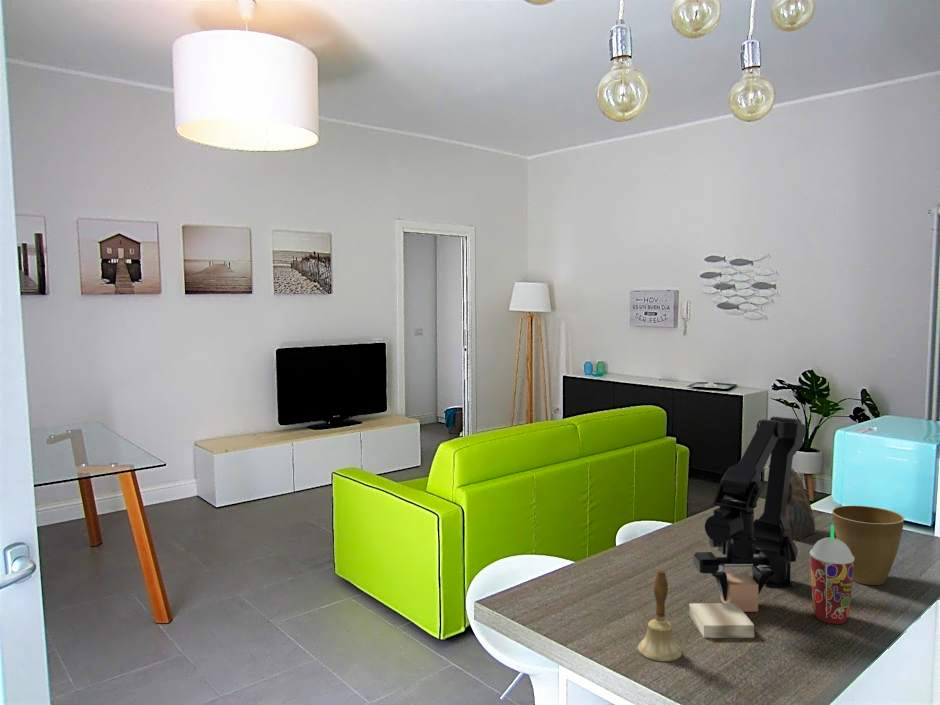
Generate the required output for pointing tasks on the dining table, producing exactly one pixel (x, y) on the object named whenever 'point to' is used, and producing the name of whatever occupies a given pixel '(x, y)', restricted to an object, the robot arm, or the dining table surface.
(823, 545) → the smoothie
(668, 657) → the hand bell
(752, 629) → the base
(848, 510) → the plant pot
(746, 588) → the cube
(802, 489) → the owl
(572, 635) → the dining table surface
